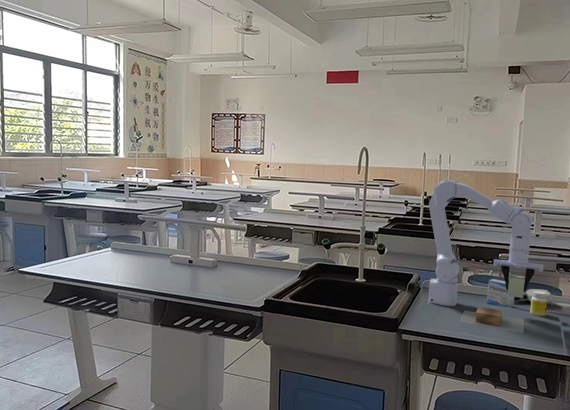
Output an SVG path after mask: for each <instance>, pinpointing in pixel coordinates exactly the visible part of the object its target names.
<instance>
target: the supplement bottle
mask: <svg viewBox="0 0 570 410" xmlns="http://www.w3.org/2000/svg"><path fill="white" fill-rule="evenodd" d="M546 297H547V293H545V292H542V291H533V297H532V298H531V302H530V311H529V314H530V315H532V316H536V317H546V316H547V310H548V309H547V308H548V303H547V299H546Z"/></svg>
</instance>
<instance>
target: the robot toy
mask: <svg viewBox="0 0 570 410" xmlns="http://www.w3.org/2000/svg"><path fill="white" fill-rule="evenodd" d="M533 291H542V292H545V293H547V297H546V299H547V302H550V303H551V302H552V301H553V300H552V299H553V297H552V296H553V294H552V293H551V292H549V290H548V289H538V288H537V289H535V288H530V289H528V290H526V292H523V298H520V297H514V302H517V303H518V302H519V303H520V302H525V301H527V300H528V301H529V303H531V298H532V297H533Z"/></svg>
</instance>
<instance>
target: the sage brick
mask: <svg viewBox="0 0 570 410" xmlns="http://www.w3.org/2000/svg"><path fill="white" fill-rule="evenodd" d="M524 283H525V276H522V275H515V274H509V285H508V296H513V297H520V298H523V292H524Z"/></svg>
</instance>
